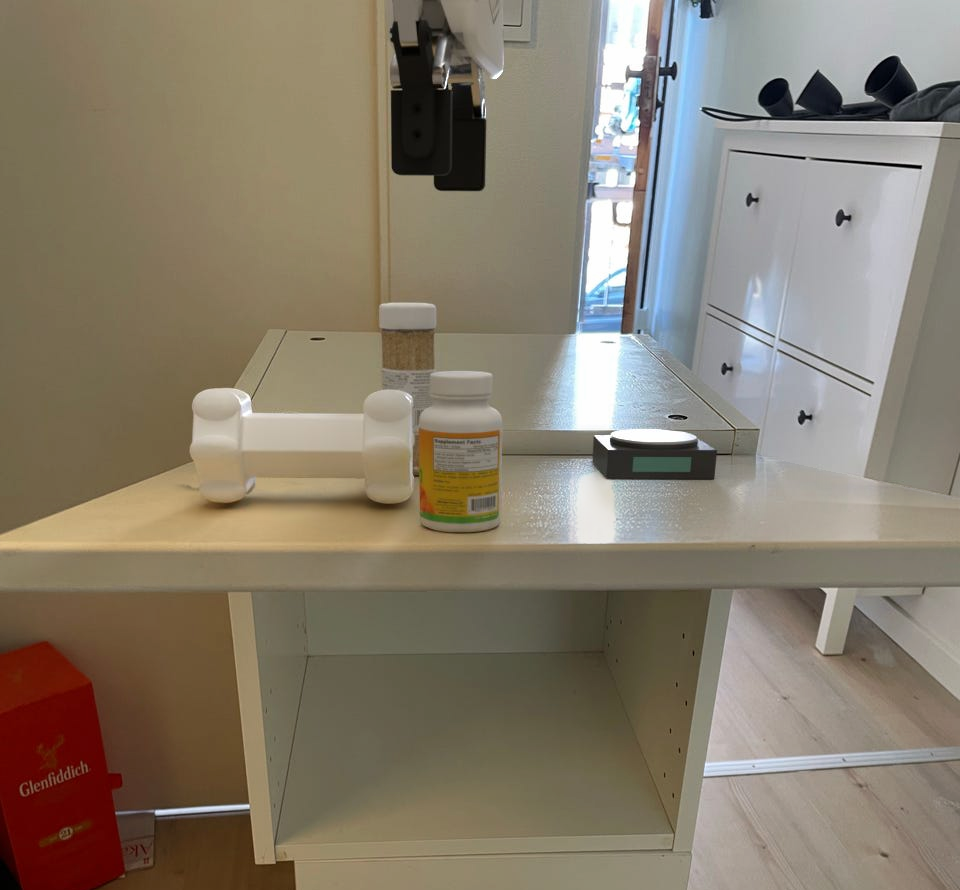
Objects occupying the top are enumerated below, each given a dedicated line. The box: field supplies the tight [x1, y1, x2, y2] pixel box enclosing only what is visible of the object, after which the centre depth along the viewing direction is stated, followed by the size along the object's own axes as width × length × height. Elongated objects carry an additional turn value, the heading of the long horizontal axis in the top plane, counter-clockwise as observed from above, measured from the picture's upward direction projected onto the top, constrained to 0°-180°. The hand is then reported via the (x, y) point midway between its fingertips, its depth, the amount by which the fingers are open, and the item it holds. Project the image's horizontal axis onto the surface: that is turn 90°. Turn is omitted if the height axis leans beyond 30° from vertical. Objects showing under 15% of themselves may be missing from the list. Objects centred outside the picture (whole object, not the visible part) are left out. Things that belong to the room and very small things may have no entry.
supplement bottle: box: [418, 370, 503, 533], centre depth 63 cm, size 5×5×10 cm
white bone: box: [189, 387, 415, 505], centre depth 69 cm, size 15×9×8 cm, turn 92°
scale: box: [591, 428, 718, 480], centre depth 83 cm, size 9×8×3 cm
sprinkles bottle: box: [378, 301, 437, 476], centre depth 80 cm, size 5×5×14 cm
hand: (441, 183), depth 57 cm, fingers open, 9 cm apart
